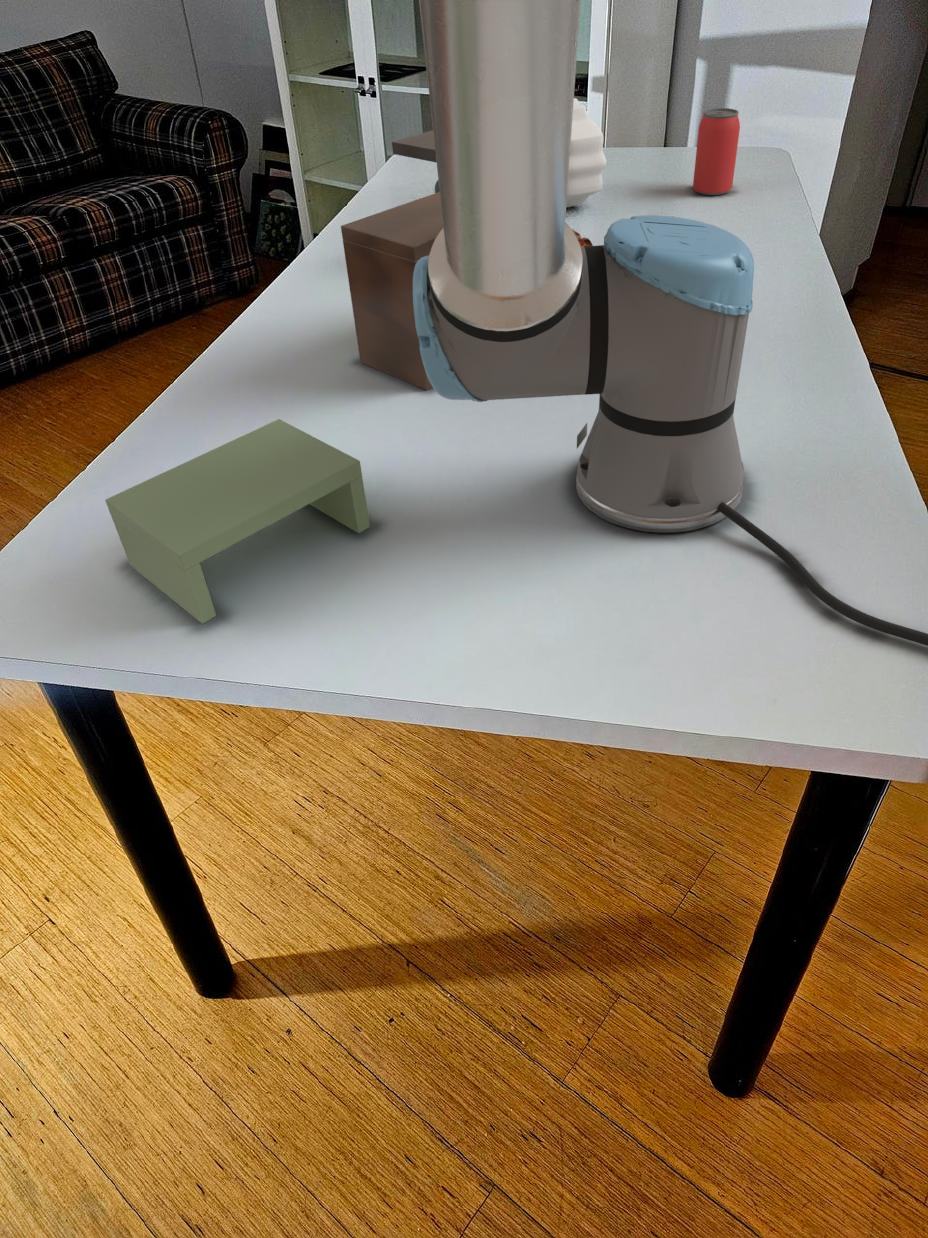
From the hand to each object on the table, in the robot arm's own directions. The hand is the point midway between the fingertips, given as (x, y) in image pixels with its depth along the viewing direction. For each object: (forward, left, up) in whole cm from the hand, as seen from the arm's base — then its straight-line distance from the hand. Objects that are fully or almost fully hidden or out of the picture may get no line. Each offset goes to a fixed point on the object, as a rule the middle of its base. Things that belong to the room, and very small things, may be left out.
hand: (504, 204), depth 92 cm
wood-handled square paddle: (+5, 0, +4) cm, 7 cm away
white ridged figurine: (+37, -52, -19) cm, 66 cm away
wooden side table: (+10, 0, -18) cm, 21 cm away
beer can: (+20, -72, -19) cm, 77 cm away
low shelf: (-6, +41, -18) cm, 45 cm away
